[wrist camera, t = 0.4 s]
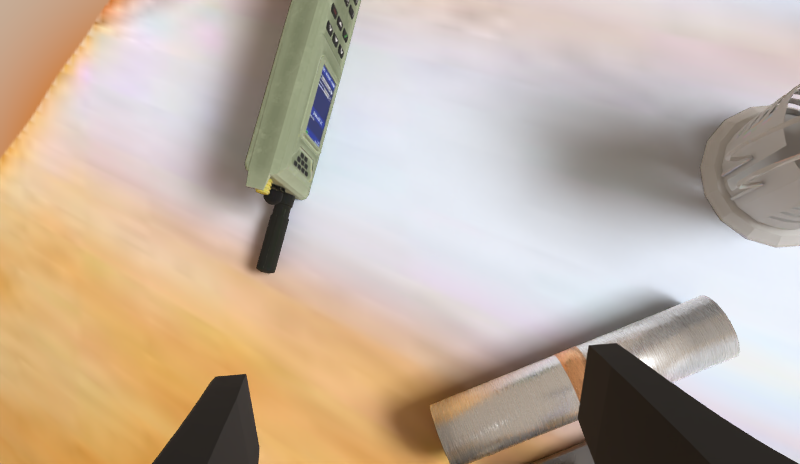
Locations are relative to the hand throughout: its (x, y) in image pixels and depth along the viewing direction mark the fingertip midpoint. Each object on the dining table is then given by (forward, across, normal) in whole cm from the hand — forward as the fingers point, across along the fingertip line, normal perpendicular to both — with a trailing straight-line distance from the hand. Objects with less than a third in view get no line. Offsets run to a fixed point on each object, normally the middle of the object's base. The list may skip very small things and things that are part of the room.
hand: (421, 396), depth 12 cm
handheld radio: (+34, +3, +2) cm, 34 cm away
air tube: (+19, -12, +16) cm, 28 cm away
